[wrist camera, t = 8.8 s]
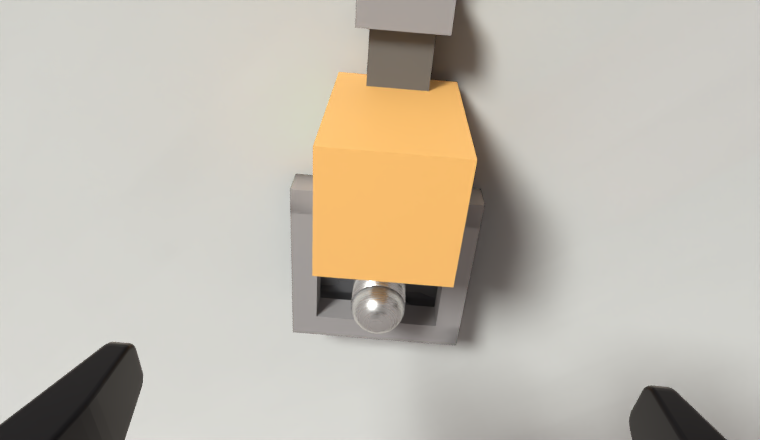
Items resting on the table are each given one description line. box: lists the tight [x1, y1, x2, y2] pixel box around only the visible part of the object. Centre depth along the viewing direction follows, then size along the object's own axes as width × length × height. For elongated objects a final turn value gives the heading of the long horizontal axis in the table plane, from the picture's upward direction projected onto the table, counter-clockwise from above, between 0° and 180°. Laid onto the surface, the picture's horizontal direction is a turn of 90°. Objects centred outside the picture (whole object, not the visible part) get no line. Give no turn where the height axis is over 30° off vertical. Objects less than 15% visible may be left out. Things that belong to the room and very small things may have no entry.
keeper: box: [320, 277, 438, 334], centre depth 21 cm, size 6×6×5 cm
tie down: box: [290, 0, 485, 345], centre depth 16 cm, size 20×7×6 cm, turn 176°
